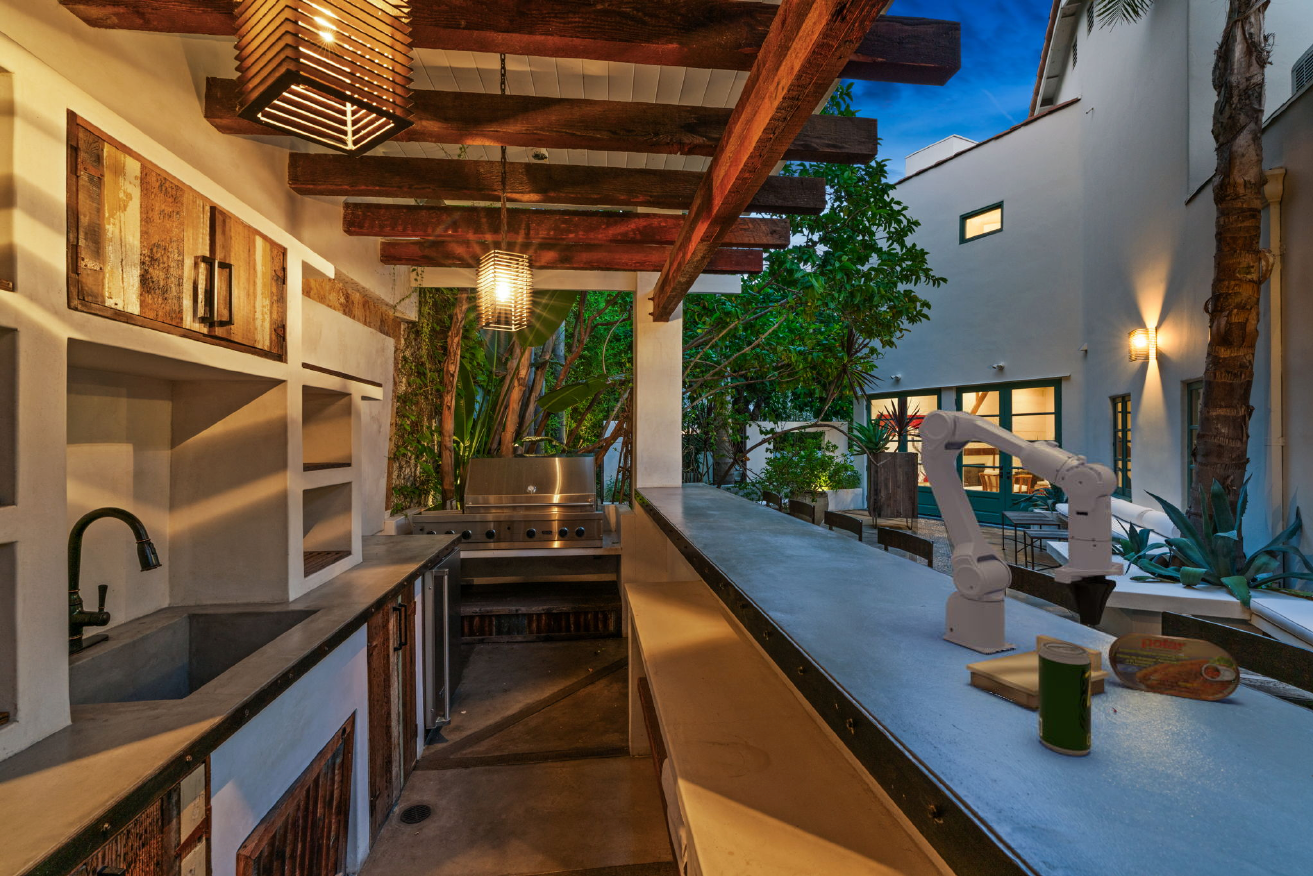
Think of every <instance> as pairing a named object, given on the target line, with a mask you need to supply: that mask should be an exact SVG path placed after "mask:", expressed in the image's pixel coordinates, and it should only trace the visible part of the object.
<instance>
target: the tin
mask: <svg viewBox="0 0 1313 876" xmlns="http://www.w3.org/2000/svg"><path fill="white" fill-rule="evenodd" d="M1108 661H1109V665H1110V668H1111V669H1112V672H1113V673H1114V674H1115V676H1116V678H1118V680H1120V682H1121V683H1122V684H1124V685H1126V686H1127V687H1129V688H1131V689H1133V690H1136V691H1138V690H1139V691H1138V692H1143V691H1144V692H1143V693H1149V692H1153V693H1152V694H1156V693H1158V694H1157V695H1164V694H1166V696H1171V695H1173V696H1172V697H1177V698H1178V697H1179V698H1184V699H1192V700H1198V701H1199V700H1200V701H1209V702H1214V701H1219V700H1223V699H1225V698H1228V697H1229V696H1231V695H1232V694H1233V693H1235V692H1236V690H1237V689H1238V687H1239V685H1240V683H1241V682H1240V681H1241V671H1240V669H1239V665H1238V663H1237V662H1236V659H1234V658H1233V656H1231V654H1230V653H1229V652H1228V651H1226V650H1225V649H1223V648H1221V647H1220V646H1218V645H1216V644H1213V643H1212V642H1209V641H1206V640H1203V639H1197V638H1187V637H1178V636H1177V637H1176V636H1170V635H1169V636H1167V635H1160V634H1159V635H1158V634H1149V633H1141V632H1140V633H1139V632H1132V633H1125V634H1122V635H1121V636H1118V637H1117V638H1115V640H1114V641H1113V642H1112V643H1111V644H1110V646H1109V649H1108ZM1219 677H1220V678H1219ZM1232 681H1233V682H1232ZM1237 683H1238V684H1237Z"/></svg>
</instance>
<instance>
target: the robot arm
mask: <svg viewBox="0 0 1313 876" xmlns="http://www.w3.org/2000/svg"><path fill="white" fill-rule="evenodd" d="M917 430H918V434H919V436H920V438H921V445H920V446H921V448H920V451H921V452H920V462H921V466H922V469H923V471H924V474H925V477H926V479H927V481H928V483H929V487H930V488H931V491H932V494H933V497H934V498H935V501H936V504H937V506H938V509H939V511H940V515H941V517H942V519H943V521H944V525H945V527H946V529H947V532H948V535H949V537H950V540H951V543H952V545H953V548H954V549H953V552H952V554H951V557H950V560H949V561H950V564H951V567H952V581H953V582H952V583H953V585H954V587H955V589H956V590H957V591H953V592H952V593H951V594H949V596H948V598H947V600H946V603H945V635H943V636H942V639H943V640H946V641H948V642H951V643H955V644H957V645H960V646H963V647H965V648H969V649H972V650H974V651H978V652H980V653H983V654H986V653H987V654H988V653H989V654H994V653H997V652H996V651H999V652H1002V651H1001V650H1003V649H1009V648H1013V647H1016V648H1017V645H1016V644H1013V643H1011V642H1007V641H1006V639H1005V638H1006V631H1005V629H1006V627H1005V626H1006V625H1005V624H1006V622H1005V621H1006V620H1005V619H1006V616H1005V615H1006V609H1005V608H1006V607H1005V606H1006V605H1005V603H1006V601H1005V599H1006V598H1005V592H1006V591H1005V590H1007V588H1009V587H1010V585H1011V583H1012V579H1013V578H1012V571H1011V569H1010V567H1009V566H1008V565H1007V563H1006V562H1005V561H1004V560H1003V559H1002V558H1001V557H1000V555H999V553H998V551H997V549H996V548H995V547H994V546H992V545H991V544H990V543H989V542H987V541H986V539H985V537H984V535H983V532H982V529H981V526H980V525H979V521H978V520H977V517H976V515H975V512H974V510H973V507H972V505H971V503H970V500H969V497H968V495H967V493H966V490H965V488H964V485H963V483H962V481H961V478H960V476H959V473H958V471H957V468H956V465H955V461H956V460H957V457H958V456H959V454H960V453H961V452H962V450H964V449H965V448H966V446H968V445H969V444H970V443H971V442H972V441H980V442H981V443H984V444H986V445H988V446H990V447H993V448H995V449H997V450H999V451H1002V452H1003V453H1005V454H1008V455H1010V456H1012V457H1014V458H1017V459H1019V460H1020V464H1021V467H1022V469H1023V470H1025V471H1028V472H1029V473H1030V474H1033V475H1034V476H1037V477H1039V478H1041V479H1042V480H1045V481H1047V482H1048V483H1051V484H1052V485H1054V486H1056V487H1058V488H1061V490H1062V492H1063V493H1064V494H1065V495H1066V497H1067V501H1068V502H1067V513H1068V514H1067V530H1068V531H1067V537H1068V538H1067V540H1068V541H1067V543H1068V544H1067V547H1068V548H1067V551H1068V554H1067V555H1068V556H1067V557H1068V558H1067V561H1068V562H1067V563H1066V564H1064V565H1063V566H1060V567H1059V568H1054V581H1055V582H1059V583H1062V584H1065V585H1066V587H1067V588H1068V590H1069V592H1070V593H1071V596H1072V597H1073V600H1074V603H1075V605H1076V610H1077V613H1078V615H1079V619H1080V622H1081V623H1083V624H1087V625H1090V626H1093V627H1094V626H1099V625H1100V623H1101V621H1102V617H1103V615H1104V614H1103V613H1104V610H1105V607H1106V604H1107V602H1108V599H1109V598H1110V596H1111V594H1112V592H1114V590H1115V588H1116V587H1117V581H1116V580H1114V579H1108V578H1107V577H1110V576H1120V577H1121V576H1124V575H1125V574H1124V573H1125V571H1124V570H1125V569H1124V568H1125V566H1124V565H1125V564H1124V563H1121V562H1115V561H1113V552H1112V549H1113V548H1112V547H1113V541H1112V539H1113V538H1112V537H1113V536H1112V535H1113V534H1112V531H1113V530H1112V529H1113V528H1112V525H1113V523H1112V519H1113V517H1112V516H1113V515H1112V513H1113V512H1112V496H1111V495H1112V494H1113V493H1114V492H1115V491H1116V489H1117V487H1118V479H1117V475H1116V473H1115V472H1114V471H1113V470H1112V469H1111V468H1109V467H1107V466H1106V465H1105V464H1104V463H1100V462H1091V463H1088V461H1087V460H1088V458H1087V456H1084V455H1082V454H1081V455H1080V454H1079V455H1075V454H1073V453H1071V452H1070V451H1069V452H1068V451H1067V450H1065V449H1062V448H1060V447H1059V443H1058V442H1056V441H1054V440H1047V441H1045V440H1038V441H1034V442H1030V441H1028V440H1026V439H1024V438H1022V437H1020V436H1019V435H1016V434H1015V433H1013V432H1011V431H1009V430H1007V429H1005V428H1003V427H1001V426H1000V425H998V424H996V423H993V422H992V421H989V420H988V419H986V418H984V417H982V416H980V415H976V414H974V415H973V414H972V413H971V412H970V411H966V410H965V411H964V410H959V411H953V410H952V411H949V410H942V409H934V410H932V411H929V412H928V413H927V414H926V415H925V416H924V418H923V420H922V422H921V424H920V426H919V427H918V429H917ZM1009 650H1010V649H1009Z"/></svg>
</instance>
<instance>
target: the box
mask: <svg viewBox="0 0 1313 876" xmlns="http://www.w3.org/2000/svg"><path fill="white" fill-rule="evenodd" d="M969 672H970V686H972V687H975V688H978V689H980V688H981V689H980V690H982V689H983V690H982V691H984V690H986V691H985V692H987V691H988V692H987V693H989V692H992V693H993V694H992V693H991V694H992V695H994V694H997V695H1000V696H1002V697H1005V698H1007V699H1009V700H1012V701H1013V702H1015V703H1014V704H1016V703H1017V704H1016V705H1018V704H1020V705H1021V707H1023V706H1024V707H1023V708H1025V707H1026V708H1025V709H1028V710H1030V711H1033V712H1034V711H1039V695H1036V696H1033V695H1031V694H1028V693H1026V692H1023V691H1021V690H1018V689H1015V688H1013V687H1010V686H1008V685H1005V684H1003V683H1000V682H998V681H995V680H992V679H990V678H987V677H985V676H982V675H980V674H977V673H975V672H972V671H969ZM1105 687H1106V685H1105V678H1103V679H1099V680H1096V681H1092V682H1091V696H1095V695H1098V694H1102V693H1105V692H1106V691H1105ZM1013 702H1012V703H1013ZM1020 705H1019V706H1020Z"/></svg>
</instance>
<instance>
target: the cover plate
mask: <svg viewBox="0 0 1313 876" xmlns="http://www.w3.org/2000/svg"><path fill="white" fill-rule="evenodd" d="M1035 640H1036V643H1035V645H1036V647H1035V650H1032V651H1026V652H1020V653H1017V654H1016V653H1015V654H1012V655H1011V654H1010V655H1006V656H1001V657H996V658H992V659H988V660H983V661H978V662H974V663H968V664H966V668H965V669H966V670H968V671H969V672H971V671H972V672H975V673H977V674H980V675H982V676H985V677H987V678H990V679H992V680H995V681H998V682H1000V683H1003V684H1005V685H1008V686H1010V687H1013V688H1015V689H1018V690H1021V691H1023V692H1026V693H1028V694H1031V695H1033V696H1036V695H1039V694H1038V652H1039V650H1040V649H1041V647H1040V644H1041V643H1044V642H1061V643H1067V644H1072V645H1076V646H1079V647H1082V648H1084V649H1086V650H1087V651H1088V652H1089V655H1088V657H1089V658H1090V660H1091V682H1092V681H1096V680H1099V679H1103V678H1104V679H1108V678H1109V677H1110V672H1109V671H1105V670H1103V669H1102V668H1103V667H1102V666H1103V664H1102V663H1103V661H1102V660H1103V659H1102V657H1103V656H1102V655H1103V654H1102V653H1103V652H1102V651H1100V650H1097V649H1094V648H1093V649H1092V648H1089V647H1086V646H1082V645H1079V644H1076V643H1073V642H1069V641H1066V640H1062V639H1059V638H1056V637H1051V636H1049V635H1046V634H1039V635H1036V636H1035Z"/></svg>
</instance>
